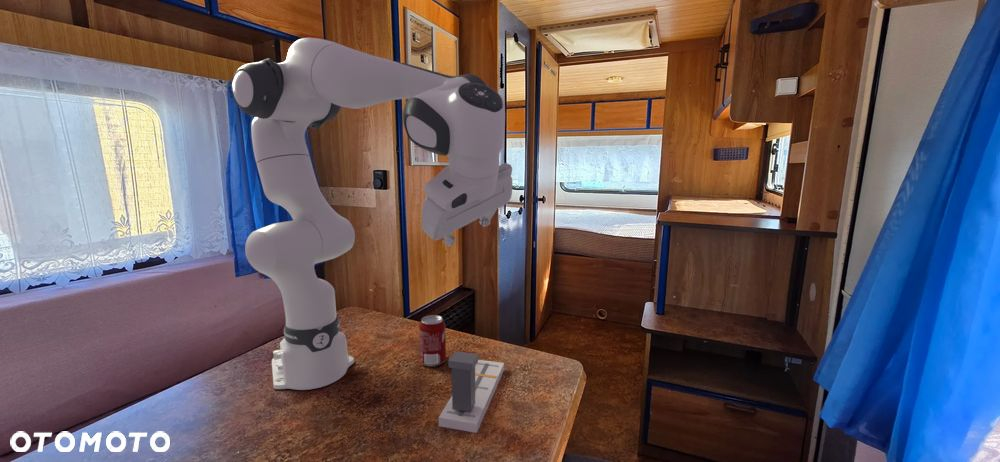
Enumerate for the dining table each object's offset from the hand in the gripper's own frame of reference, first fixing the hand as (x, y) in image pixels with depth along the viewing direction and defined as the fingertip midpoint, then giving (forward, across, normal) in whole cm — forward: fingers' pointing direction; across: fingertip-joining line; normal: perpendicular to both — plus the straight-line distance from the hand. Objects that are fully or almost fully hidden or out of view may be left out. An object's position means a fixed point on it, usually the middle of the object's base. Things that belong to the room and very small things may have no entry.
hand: (467, 233), depth 80 cm
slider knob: (+27, +14, +18) cm, 36 cm away
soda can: (+43, +8, 0) cm, 44 cm away
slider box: (+33, +9, +16) cm, 38 cm away
